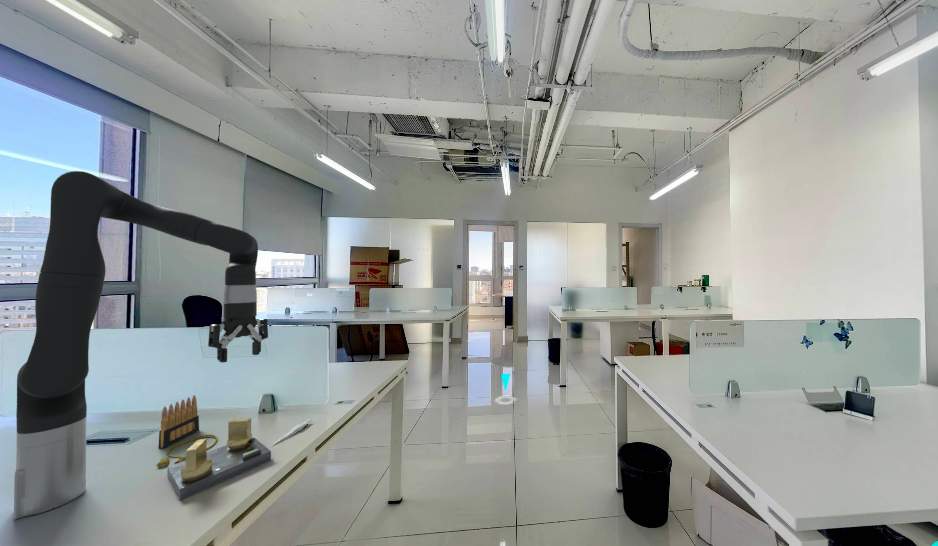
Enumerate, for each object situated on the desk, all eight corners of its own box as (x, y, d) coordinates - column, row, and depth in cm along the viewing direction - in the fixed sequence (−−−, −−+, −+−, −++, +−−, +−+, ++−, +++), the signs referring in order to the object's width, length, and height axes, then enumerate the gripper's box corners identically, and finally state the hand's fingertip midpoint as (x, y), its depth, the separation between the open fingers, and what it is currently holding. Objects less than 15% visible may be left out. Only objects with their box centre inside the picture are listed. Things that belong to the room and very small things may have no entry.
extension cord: (135, 468, 79) (135, 460, 79) (197, 437, 95) (197, 431, 95) (174, 471, 78) (174, 463, 78) (230, 439, 93) (230, 433, 93)
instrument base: (179, 500, 66) (179, 484, 66) (167, 476, 75) (167, 462, 75) (271, 460, 81) (270, 447, 81) (252, 444, 89) (252, 432, 89)
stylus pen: (307, 422, 103) (307, 417, 103) (313, 423, 102) (313, 418, 102) (267, 448, 88) (267, 442, 88) (274, 450, 87) (274, 443, 87)
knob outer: (221, 451, 81) (221, 425, 81) (236, 440, 87) (236, 415, 87) (246, 449, 81) (246, 424, 81) (259, 439, 87) (259, 414, 87)
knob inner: (205, 478, 70) (205, 448, 70) (174, 484, 68) (175, 453, 68) (218, 462, 76) (218, 434, 76) (190, 467, 74) (190, 439, 74)
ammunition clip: (163, 448, 88) (164, 407, 88) (158, 448, 88) (158, 407, 88) (199, 430, 98) (199, 394, 99) (194, 430, 99) (194, 393, 99)
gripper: (257, 299, 93) (257, 351, 92) (202, 302, 80) (202, 363, 79) (274, 299, 90) (273, 353, 90) (220, 303, 77) (219, 366, 76)
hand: (240, 358), depth 84 cm, fingers open, 8 cm apart
